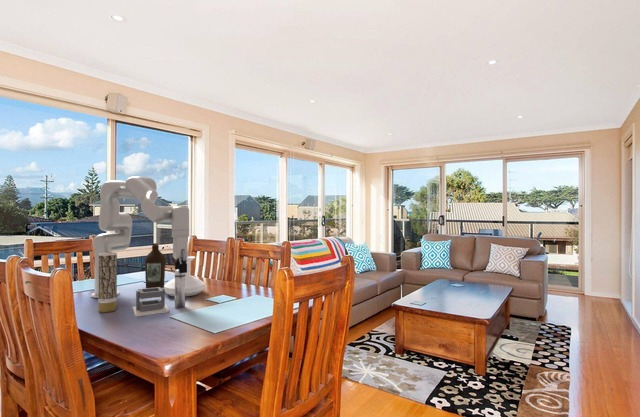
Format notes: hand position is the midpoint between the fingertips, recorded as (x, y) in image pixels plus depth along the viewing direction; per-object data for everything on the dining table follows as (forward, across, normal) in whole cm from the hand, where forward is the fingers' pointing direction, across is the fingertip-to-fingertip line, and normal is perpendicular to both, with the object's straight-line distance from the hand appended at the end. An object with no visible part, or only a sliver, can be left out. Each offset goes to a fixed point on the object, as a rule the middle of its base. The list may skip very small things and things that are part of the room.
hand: (180, 271), depth 162 cm
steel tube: (+16, -1, 0) cm, 16 cm away
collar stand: (+16, -2, -12) cm, 20 cm away
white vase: (+16, -25, +7) cm, 30 cm away
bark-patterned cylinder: (+16, -11, -28) cm, 34 cm away
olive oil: (+16, -49, -4) cm, 51 cm away
